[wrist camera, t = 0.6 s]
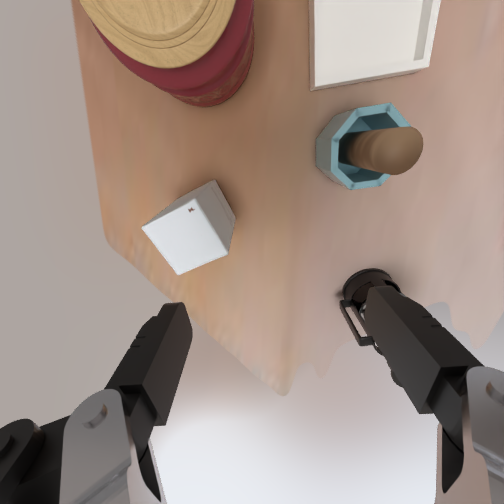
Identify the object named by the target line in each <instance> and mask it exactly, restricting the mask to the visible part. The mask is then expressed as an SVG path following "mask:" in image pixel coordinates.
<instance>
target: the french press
mask: <svg viewBox="0 0 504 504" xmlns="http://www.w3.org/2000/svg"><path fill="white" fill-rule="evenodd" d="M382 280H384V281H385V283H384V282H383V281H382ZM370 282H372V284H373V285H374V286H375V287H378V286H392V287H394V288H395V289H396V290H397V291H398V292H399V294H400V295H401V296H402V297H406V296H405V295H404V294H402V293H401V291H400V288H399V287H398V285H397V284H396V283H395V282H394V281H393V280H392V279H391V277H390V276H389V275H388V274H387V273H386V272H385V271H383V270H380V269H365V270H362V271H359V272H357V273H355V274H354V275H352V276H351V277H350V278H349V279H348V280H347V281H346V283H345V285H344V287H343V297H344V299H345V300H340V309H341V311H342V313H343V315H344V317H345V319H346V321H347V323H348V325H349V327H350V329H351V331H352V333H353V335H354V336H355V338H356V340H357V342H358V344H359V346H368V345H373V346H374V348H375V350H376V351H377V352H378V353H379V354H381V355H383V354H382V352H381V351H380V349H379V347H377V346H375V341H374V339H373V337H372V336H371V334H370V332H369V331H368V329H367V327H366V324H365V319H364V313H365V307H366V302H367V299H366V300H365V301H364V302H363V303H358V302H356V301H354V300H353V299H352V297H353V295H354V294H355V292H356V291H357V290H358V289H359V288H361V287H362V286H363V285H365V284H367V283H370ZM346 307H351V309H352V311H353V312H354V314H355V315H356V317H357V319H358V320H359V322H360V324H361V325H362V327H363V329H364V331H365V332H366V334H367V337H361V336H360V335H359V333H358V331H357V329H356V327H355V326H354V324H353V322H352V320H351V318H350V317H349V315H348V313H347V311H346V309H345V308H346ZM383 356H384V355H383ZM387 363H388V362H387ZM388 366H389V367H390V365H389V364H388ZM390 369H391V367H390ZM391 377H392V379H393V381H394V382H395V383H396V384H397V385H399V386H400V387H402V385H401V383H400V382H399V380H398V378H397V377H396V375H395V373H394V372H393V370H392V369H391Z"/></svg>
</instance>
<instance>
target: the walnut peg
mask: <svg viewBox="0 0 504 504" xmlns="http://www.w3.org/2000/svg"><path fill="white" fill-rule="evenodd" d="M422 149H423V138H422V135H421V134H420V132H419V131H418V130H417V129H415V128H413V127H397V128H387V129H378V130H368V131H359V132H349V133H346V134H344V135H343V136H342V137H341V139H340V140H339V148H338V162H340V163H342V164H347V165H351V166H355V167H359V168H363V169H368V170H372V171H376V172H380V173H384V174H389V175H398V174H401V173H404V172H406V171H407V170H409V169H410V168H411V167H412V166H413V165H414V164H415V163H416V162H417V161H418V159H419V157H420V155H421V153H422Z"/></svg>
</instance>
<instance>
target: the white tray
mask: <svg viewBox="0 0 504 504" xmlns="http://www.w3.org/2000/svg"><path fill="white" fill-rule="evenodd" d="M440 2H441V0H309V54H310V91H313V90H319V89H325V88H331V87H337V86H342V85H348V84H354V83H360V82H365V81H371V80H377V79H383V78H389V77H394V76H400V75H406V74H412V73H415V72H418V71H420V70H422V69H425V68H427V67H429V62H430V57H431V51H432V46H433V40H434V35H435V29H436V24H437V18H438V13H439V7H440Z"/></svg>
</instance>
